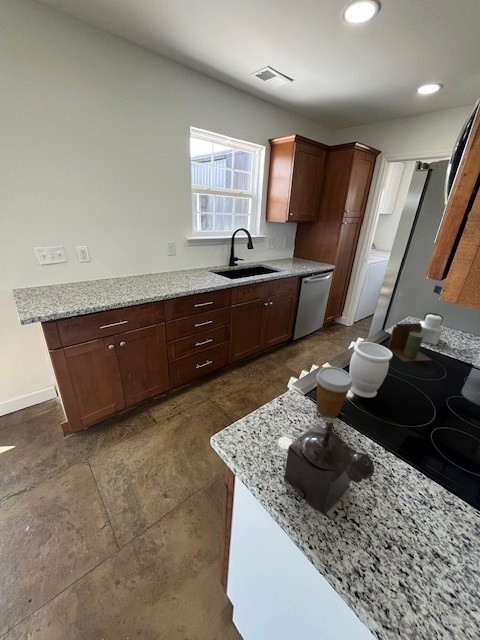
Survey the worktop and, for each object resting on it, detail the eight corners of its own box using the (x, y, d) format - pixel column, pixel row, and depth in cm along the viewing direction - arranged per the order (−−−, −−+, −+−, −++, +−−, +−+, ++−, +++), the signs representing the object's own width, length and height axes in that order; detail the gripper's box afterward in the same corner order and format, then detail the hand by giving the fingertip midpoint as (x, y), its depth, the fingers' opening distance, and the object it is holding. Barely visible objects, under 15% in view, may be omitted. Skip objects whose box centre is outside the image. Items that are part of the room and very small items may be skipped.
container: (415, 335, 124) (423, 309, 118) (434, 340, 120) (444, 313, 115) (415, 342, 117) (424, 315, 112) (436, 347, 114) (446, 319, 109)
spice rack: (412, 349, 112) (421, 322, 107) (431, 362, 102) (442, 334, 97) (386, 350, 110) (394, 323, 105) (402, 363, 101) (412, 335, 96)
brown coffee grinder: (280, 478, 57) (289, 414, 50) (311, 451, 64) (323, 391, 56) (345, 544, 46) (369, 475, 39) (375, 503, 53) (400, 438, 46)
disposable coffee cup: (307, 414, 75) (313, 379, 70) (314, 394, 83) (320, 362, 78) (343, 426, 71) (352, 390, 66) (346, 404, 79) (355, 371, 74)
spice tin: (413, 352, 107) (420, 332, 103) (418, 358, 103) (426, 337, 99) (401, 350, 108) (407, 330, 104) (405, 356, 103) (412, 336, 100)
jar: (384, 389, 86) (396, 349, 80) (374, 405, 79) (387, 363, 73) (351, 376, 93) (361, 338, 87) (339, 389, 85) (348, 349, 79)
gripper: (466, 319, 87) (419, 297, 106) (532, 317, 90) (474, 296, 109) (475, 297, 84) (425, 279, 103) (543, 296, 87) (481, 279, 106)
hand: (450, 288), depth 106 cm, fingers open, 13 cm apart
